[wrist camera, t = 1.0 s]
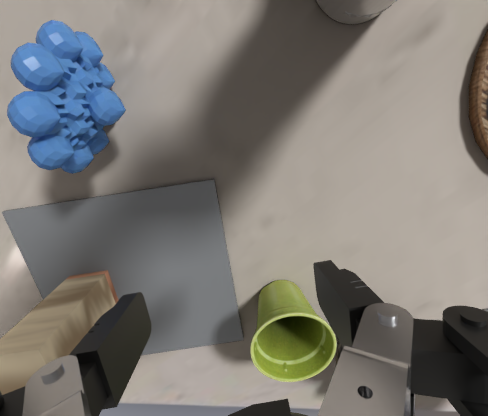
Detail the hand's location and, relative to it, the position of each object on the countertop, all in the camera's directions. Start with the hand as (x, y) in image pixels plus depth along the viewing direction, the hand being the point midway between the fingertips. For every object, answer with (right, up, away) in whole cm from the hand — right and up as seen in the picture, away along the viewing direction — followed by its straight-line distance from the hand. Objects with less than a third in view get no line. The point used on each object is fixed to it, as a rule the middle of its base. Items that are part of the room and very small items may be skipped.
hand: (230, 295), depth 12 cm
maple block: (-19, -7, +21) cm, 29 cm away
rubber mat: (-14, -6, +22) cm, 26 cm away
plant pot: (+6, -8, +24) cm, 26 cm away
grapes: (-13, +15, +15) cm, 25 cm away
